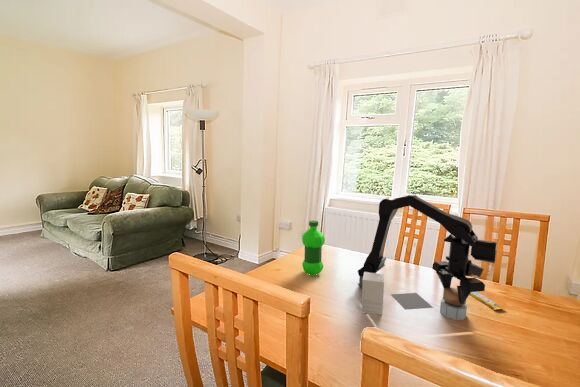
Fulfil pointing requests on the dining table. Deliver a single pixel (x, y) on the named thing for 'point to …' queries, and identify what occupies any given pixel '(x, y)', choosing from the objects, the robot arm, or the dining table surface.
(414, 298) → the mat
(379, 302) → the supplement box
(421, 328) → the dining table surface
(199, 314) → the dining table surface
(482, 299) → the candy bar
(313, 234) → the plastic bottle
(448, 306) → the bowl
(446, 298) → the tan rounded dome
